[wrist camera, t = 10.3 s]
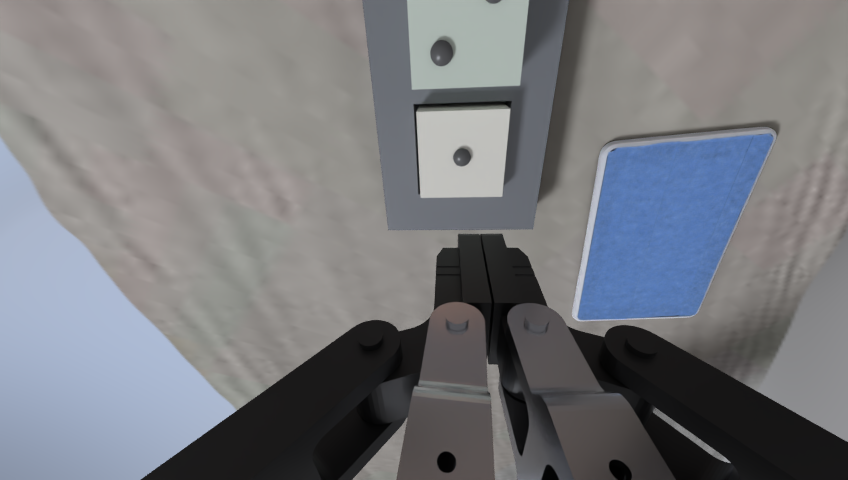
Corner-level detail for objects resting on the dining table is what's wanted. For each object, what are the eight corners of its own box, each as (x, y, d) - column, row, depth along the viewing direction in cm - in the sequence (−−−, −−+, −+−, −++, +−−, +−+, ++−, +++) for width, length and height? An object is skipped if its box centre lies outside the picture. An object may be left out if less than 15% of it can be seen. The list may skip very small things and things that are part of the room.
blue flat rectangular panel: (690, 311, 34) (698, 319, 32) (568, 316, 35) (572, 324, 34) (769, 123, 24) (786, 126, 23) (596, 140, 25) (603, 144, 24)
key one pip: (501, 101, 23) (511, 109, 20) (495, 180, 26) (502, 198, 23) (420, 104, 23) (416, 112, 20) (423, 181, 26) (420, 199, 23)
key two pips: (519, -42, 17) (536, -63, 14) (509, 80, 20) (520, 85, 17) (411, -34, 18) (403, -54, 14) (416, 84, 21) (411, 90, 18)
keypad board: (603, -355, 14) (639, -448, 11) (525, 213, 28) (532, 229, 26) (340, -319, 15) (317, -398, 12) (393, 214, 29) (388, 230, 27)
